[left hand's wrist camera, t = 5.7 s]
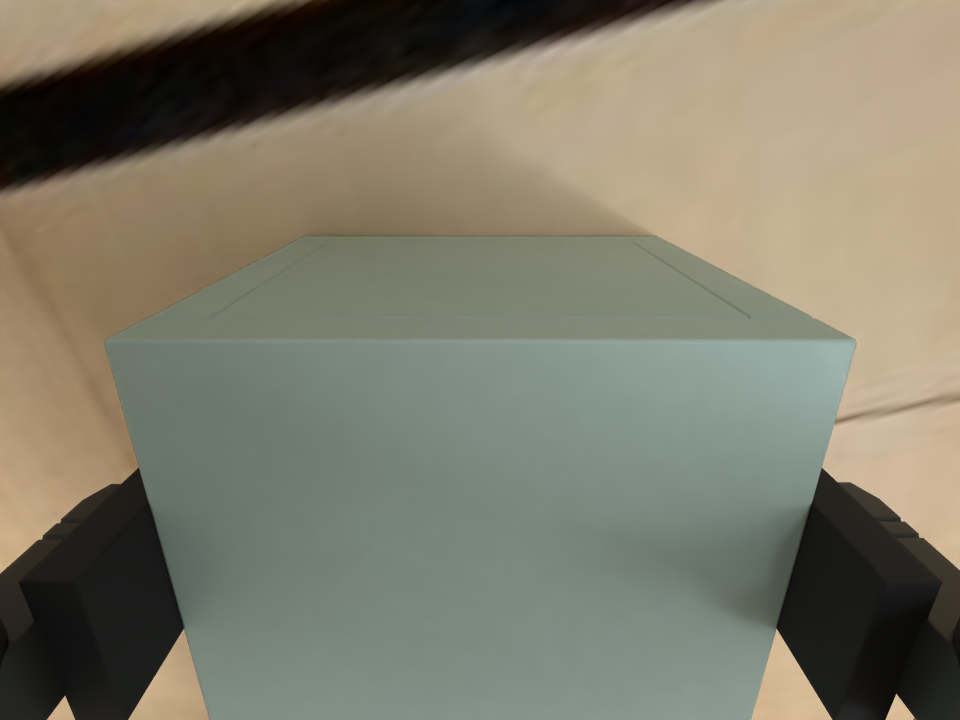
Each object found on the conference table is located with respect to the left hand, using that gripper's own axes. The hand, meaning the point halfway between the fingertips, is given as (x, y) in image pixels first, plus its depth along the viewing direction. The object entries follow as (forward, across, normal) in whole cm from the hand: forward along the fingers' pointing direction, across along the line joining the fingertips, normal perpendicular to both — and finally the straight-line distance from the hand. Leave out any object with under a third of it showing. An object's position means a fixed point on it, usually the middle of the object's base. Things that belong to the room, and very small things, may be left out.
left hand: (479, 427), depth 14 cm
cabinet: (+4, 0, -7) cm, 8 cm away
